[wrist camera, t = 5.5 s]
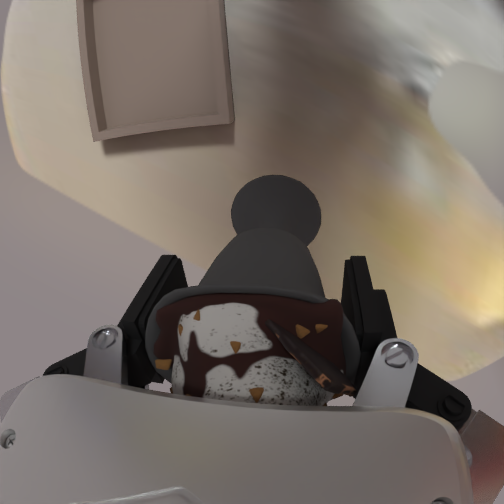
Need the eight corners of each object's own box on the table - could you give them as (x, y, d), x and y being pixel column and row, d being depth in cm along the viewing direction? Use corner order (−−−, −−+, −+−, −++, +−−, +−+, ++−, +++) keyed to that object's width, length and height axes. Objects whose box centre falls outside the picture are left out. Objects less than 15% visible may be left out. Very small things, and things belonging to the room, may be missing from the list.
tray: (88, -13, 24) (76, -16, 21) (219, -52, 21) (213, -60, 19) (104, 136, 34) (93, 141, 32) (234, 119, 31) (229, 123, 29)
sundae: (225, 267, 20) (142, 517, 8) (209, 162, 16) (20, 433, 4) (333, 268, 19) (342, 541, 7) (337, 158, 15) (416, 498, 3)
